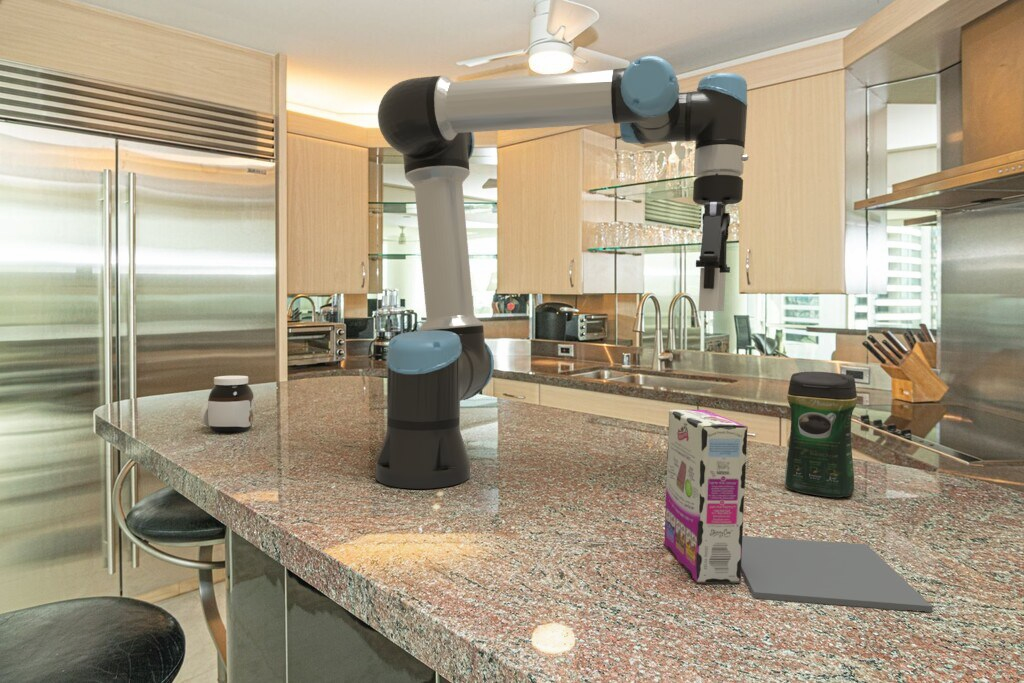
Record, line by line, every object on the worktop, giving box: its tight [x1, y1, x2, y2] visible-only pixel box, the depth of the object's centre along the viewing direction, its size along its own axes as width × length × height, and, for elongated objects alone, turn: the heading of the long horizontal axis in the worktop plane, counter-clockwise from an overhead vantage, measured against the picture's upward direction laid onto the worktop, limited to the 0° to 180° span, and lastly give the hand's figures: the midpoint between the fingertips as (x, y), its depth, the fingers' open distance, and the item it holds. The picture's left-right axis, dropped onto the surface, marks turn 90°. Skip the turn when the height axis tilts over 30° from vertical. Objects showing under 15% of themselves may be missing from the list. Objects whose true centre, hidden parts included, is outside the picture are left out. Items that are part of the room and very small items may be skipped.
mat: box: [741, 535, 934, 613], centre depth 70 cm, size 16×16×1 cm
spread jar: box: [199, 375, 255, 435], centre depth 141 cm, size 12×11×12 cm
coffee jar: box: [784, 371, 858, 498], centre depth 100 cm, size 10×8×19 cm
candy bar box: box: [663, 409, 748, 584], centre depth 71 cm, size 11×5×16 cm, turn 5°
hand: (711, 311), depth 104 cm, fingers open, 13 cm apart
